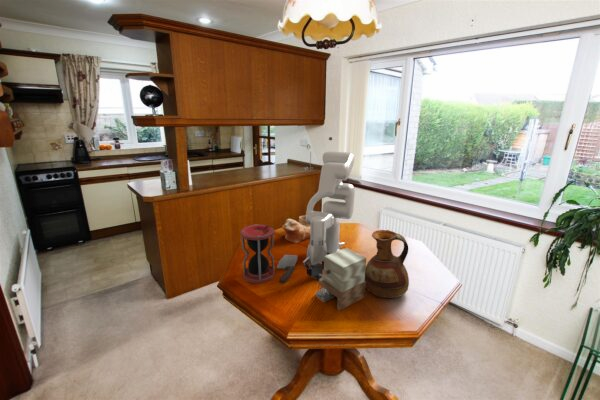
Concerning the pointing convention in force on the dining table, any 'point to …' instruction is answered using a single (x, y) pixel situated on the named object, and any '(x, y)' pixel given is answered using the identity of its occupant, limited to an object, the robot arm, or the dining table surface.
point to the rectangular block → (324, 295)
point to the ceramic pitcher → (387, 267)
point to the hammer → (317, 271)
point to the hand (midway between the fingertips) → (316, 272)
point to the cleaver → (287, 266)
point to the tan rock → (297, 230)
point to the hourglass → (258, 253)
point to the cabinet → (344, 276)
